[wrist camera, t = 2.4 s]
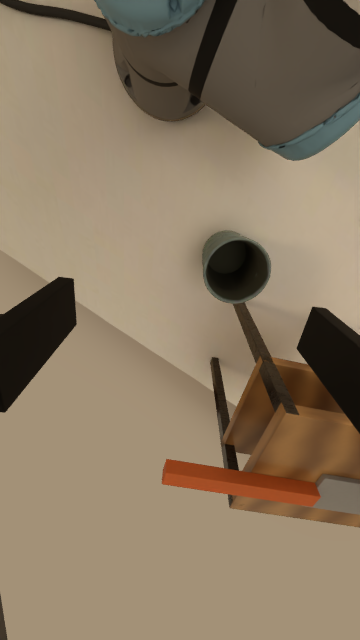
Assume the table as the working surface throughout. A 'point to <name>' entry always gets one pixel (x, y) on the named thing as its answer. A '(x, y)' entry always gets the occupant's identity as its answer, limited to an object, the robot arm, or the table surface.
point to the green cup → (234, 267)
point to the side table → (285, 429)
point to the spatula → (267, 486)
